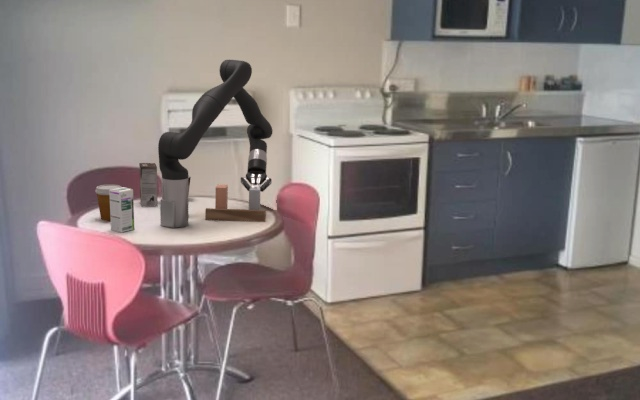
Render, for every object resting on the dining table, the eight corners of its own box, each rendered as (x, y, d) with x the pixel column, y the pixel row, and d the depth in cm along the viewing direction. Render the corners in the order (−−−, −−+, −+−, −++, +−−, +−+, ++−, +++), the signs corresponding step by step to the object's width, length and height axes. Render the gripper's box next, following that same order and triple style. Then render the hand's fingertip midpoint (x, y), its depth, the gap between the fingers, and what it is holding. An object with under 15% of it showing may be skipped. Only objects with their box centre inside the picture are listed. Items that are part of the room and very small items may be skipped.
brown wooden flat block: (209, 212, 262) (209, 202, 261) (266, 213, 263) (266, 204, 262) (205, 219, 250) (205, 209, 249) (264, 221, 251) (264, 211, 250)
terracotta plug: (217, 209, 266) (217, 184, 264) (227, 209, 266) (227, 184, 264) (215, 212, 260) (215, 187, 258) (225, 213, 260) (226, 187, 258)
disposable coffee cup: (126, 216, 251) (125, 184, 248) (118, 222, 242) (117, 190, 239) (101, 215, 251) (100, 183, 248) (92, 221, 242) (91, 189, 239)
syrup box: (121, 232, 229) (120, 191, 226) (110, 229, 232) (109, 188, 229) (134, 229, 234) (133, 188, 230) (123, 226, 237) (122, 186, 234)
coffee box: (139, 201, 274) (139, 162, 271) (156, 201, 276) (155, 162, 273) (141, 207, 266) (140, 166, 262) (157, 206, 268) (157, 166, 264)
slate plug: (249, 211, 264) (250, 186, 262) (260, 211, 264) (260, 187, 262) (248, 215, 258) (249, 189, 256) (259, 215, 258) (259, 190, 256)
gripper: (240, 157, 269) (237, 193, 260) (273, 158, 270) (271, 194, 261) (241, 167, 276) (238, 203, 266) (273, 169, 276) (271, 204, 267)
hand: (254, 199), depth 264 cm, fingers closed
